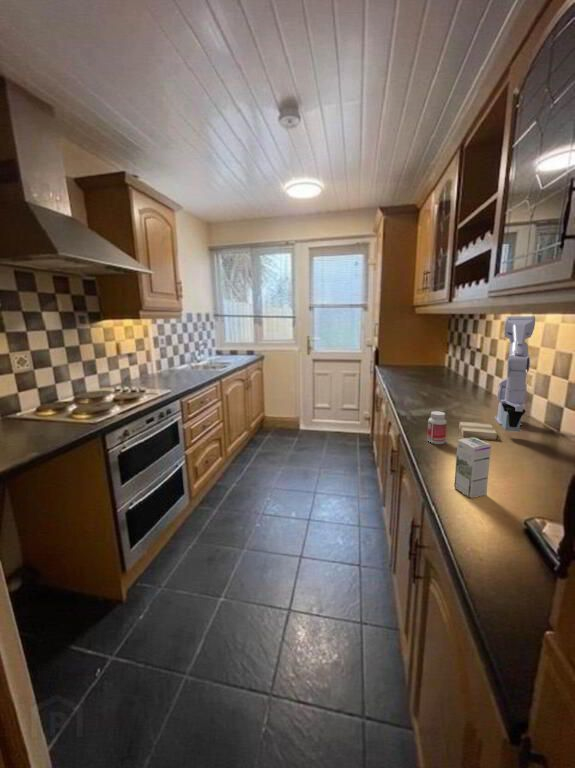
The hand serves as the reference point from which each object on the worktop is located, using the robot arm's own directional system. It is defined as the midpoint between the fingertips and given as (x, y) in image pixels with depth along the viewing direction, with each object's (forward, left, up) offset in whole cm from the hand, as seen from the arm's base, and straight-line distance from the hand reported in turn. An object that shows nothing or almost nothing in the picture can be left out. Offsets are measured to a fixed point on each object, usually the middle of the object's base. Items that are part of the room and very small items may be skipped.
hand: (511, 424), depth 125 cm
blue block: (0, 0, -2) cm, 2 cm away
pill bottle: (+11, -26, -5) cm, 29 cm away
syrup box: (+46, -20, -5) cm, 51 cm away
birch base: (-2, -11, -5) cm, 12 cm away
